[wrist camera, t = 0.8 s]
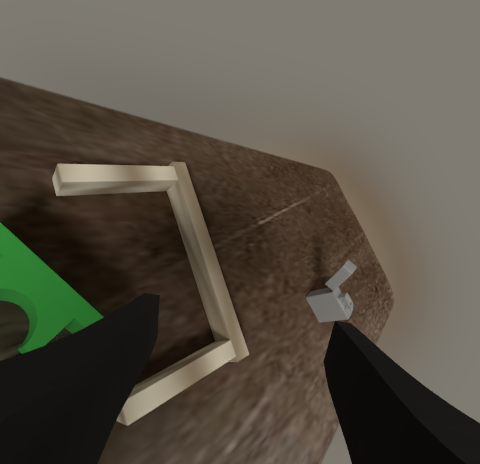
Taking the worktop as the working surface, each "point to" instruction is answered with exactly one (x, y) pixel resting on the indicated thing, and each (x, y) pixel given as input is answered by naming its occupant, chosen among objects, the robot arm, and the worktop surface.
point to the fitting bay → (201, 260)
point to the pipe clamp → (39, 294)
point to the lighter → (333, 297)
